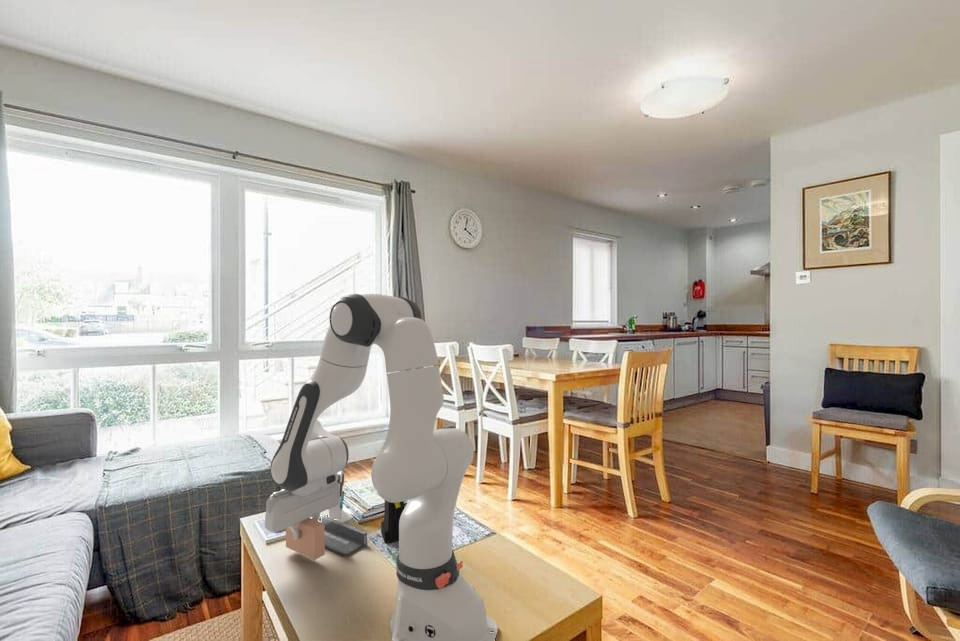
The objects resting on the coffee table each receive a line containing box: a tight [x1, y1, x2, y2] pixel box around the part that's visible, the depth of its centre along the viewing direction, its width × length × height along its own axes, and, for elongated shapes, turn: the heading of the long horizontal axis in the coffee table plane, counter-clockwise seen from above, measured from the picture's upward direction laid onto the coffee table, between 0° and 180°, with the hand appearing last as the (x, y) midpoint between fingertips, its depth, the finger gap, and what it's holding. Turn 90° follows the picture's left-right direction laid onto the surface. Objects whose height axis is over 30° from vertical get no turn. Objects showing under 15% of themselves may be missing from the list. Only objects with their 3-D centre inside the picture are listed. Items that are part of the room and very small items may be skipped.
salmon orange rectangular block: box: [285, 517, 326, 561], centre depth 116 cm, size 12×3×8 cm, turn 57°
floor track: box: [321, 516, 368, 558], centre depth 124 cm, size 18×7×4 cm, turn 57°
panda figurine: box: [328, 469, 354, 524], centre depth 139 cm, size 12×11×15 cm
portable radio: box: [380, 500, 405, 543], centre depth 127 cm, size 8×6×25 cm
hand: (304, 534), depth 116 cm, fingers closed on salmon orange rectangular block, 3 cm apart
